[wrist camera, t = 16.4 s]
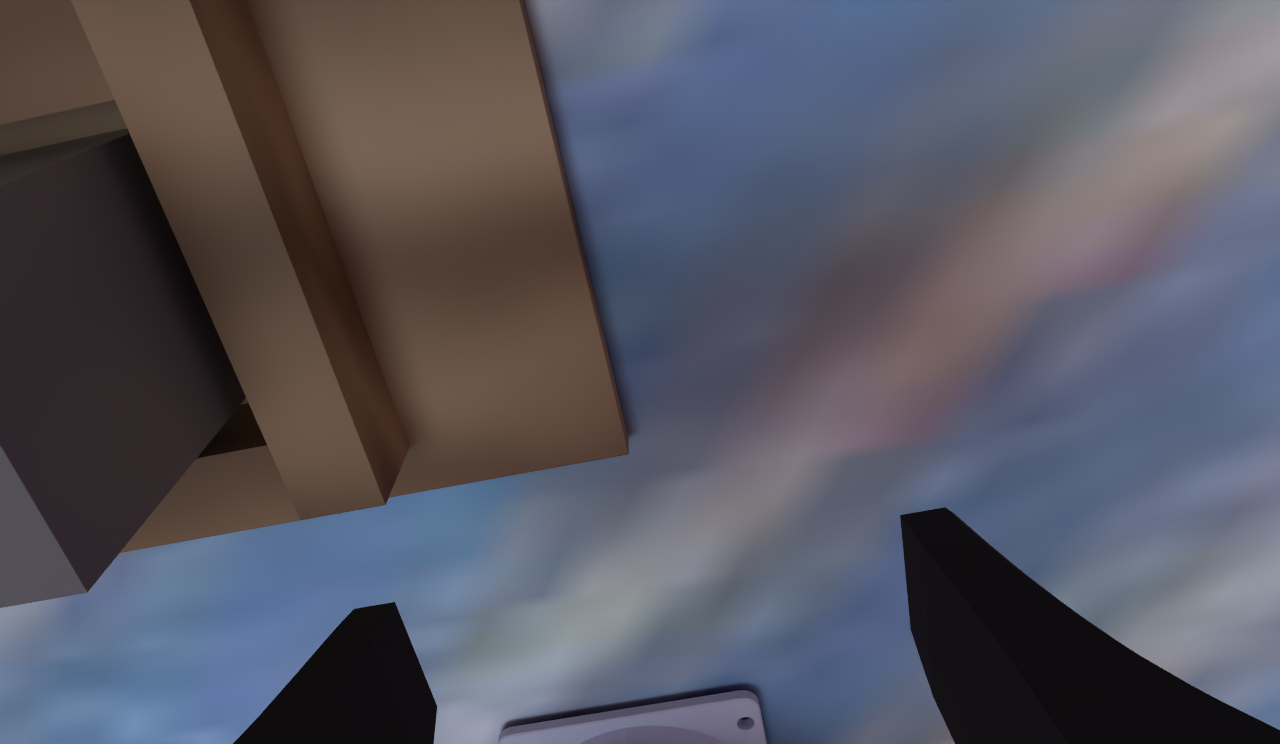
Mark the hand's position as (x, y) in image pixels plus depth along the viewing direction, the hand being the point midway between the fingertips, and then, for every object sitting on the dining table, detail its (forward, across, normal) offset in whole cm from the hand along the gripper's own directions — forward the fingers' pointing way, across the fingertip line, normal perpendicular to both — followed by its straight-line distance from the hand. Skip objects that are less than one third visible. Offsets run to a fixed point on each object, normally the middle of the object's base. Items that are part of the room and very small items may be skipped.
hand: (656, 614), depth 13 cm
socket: (+10, +11, -4) cm, 16 cm away
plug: (+10, +11, -4) cm, 15 cm away
